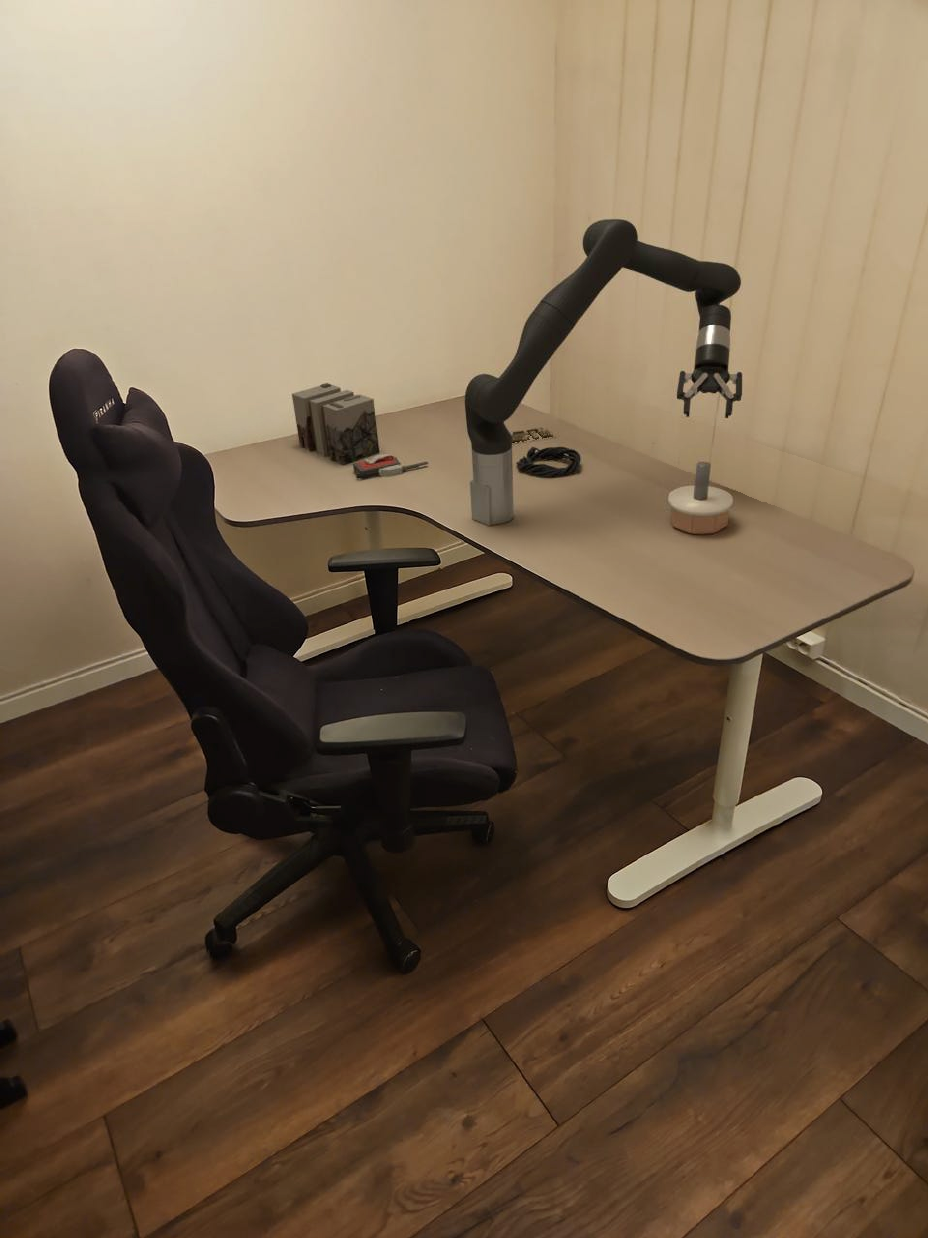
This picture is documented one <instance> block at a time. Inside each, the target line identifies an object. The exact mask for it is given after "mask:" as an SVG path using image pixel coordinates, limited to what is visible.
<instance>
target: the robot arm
mask: <svg viewBox="0 0 928 1238" xmlns="http://www.w3.org/2000/svg"><path fill="white" fill-rule="evenodd" d="M638 234H639V233H638V230H637V228H636V226H635V225H634V224H633V223H632V222H631V221H629V220H626V219H621V218H610V219H609V218H607V219H601V220H597V221H595V222H593V223H592V224H590V225H589V226H588V227H587V228H586V230H585V231H584V234H583V237H582V249H583V252H584V254H585V255H586V258H585V259H584V260H583V262H582V263H581V264H580V266H578V268H576V270H574V271H573V272H571V274H569V275H568V276H567V277H566V278H564V279H563V280H562V281H561V282H559V283H558V284H557V285H556V286H554V287H553V288H552V289H551V290H550V291H548V292H547V294H545V296H543V298H542V299H541V300H540V301H539V303H537V305H536V307H535V308H534V310H532V312H531V313H530V314H529V316H528V317H527V318H526V321H525V323H524V326H523V328H522V331H521V335H520V339H519V344H518V347H517V350H516V353H515V355H514V357H513V359H512V360H511V362H510V363H509V365H508V366H507V367H506V369H505V370H504V371H503V372H502V373H501V374H500V376H499V377H496V376H494V375H493V374H489V373H481V374H478V375H475V376H474V377H473V378H472V379H471V380H470V381H469V383H468V385H467V387H466V389H465V392H464V393H465V394H464V411H465V412H464V413H465V421H466V422H465V423H466V431H467V435H468V438H469V440H470V443H471V444H470V445H471V460H472V461H471V463H472V465H471V466H472V480H470V482H469V487H470V488H469V489H470V491H469V492H470V493H469V494H470V509H471V519H473V520H474V521H477V522H479V523H481V524H483V525H486V526H488V527H489V526H492V525H498V524H504V523H507V522H509V521H511V520H512V519H513V518H514V515H515V514H514V513H515V511H514V510H515V509H514V508H515V507H514V481H513V480H514V476H513V475H514V474H513V473H514V472H513V470H514V469H513V466H514V465H513V444H512V437H511V435H512V434H511V432H510V431H509V430H508V428H507V426H506V424H505V421H507V420H509V418H511V417H512V416H513V414H514V413H515V412H516V410H517V409H518V408H519V406H520V404H521V403H522V401H523V400H524V398H525V396H526V394H527V393H528V391H529V390H530V388H531V387H532V385H533V383H534V382H535V381H536V378H537V377H538V376H539V374H540V373H541V371H542V370H543V369H544V367H545V366H546V365H547V363H548V362H549V361H550V359H551V358H552V356H553V355H554V354H555V352H557V350H558V349H559V347H560V346H561V345H562V344H563V342H564V341H565V340H566V339H567V337H568V336H569V334H571V332H572V331H573V329H574V328H575V327H576V325H577V324H578V322H579V321H580V319H581V318H582V317H583V316H584V314H585V313H586V312H587V310H588V309H589V308H590V307H591V305H592V304H593V303H594V301H595V300H596V298H597V297H598V296H599V294H600V293H601V292H602V290H603V289H605V288H606V286H607V285H608V284H609V283H610V281H612V279H613V278H614V277H615V276H616V275H617V274H618V273H619V272H620V271H621V270H622V269H626V270H629V271H632V272H635V273H639V274H641V275H643V276H646V277H648V278H651V279H653V280H656V281H659V282H661V283H662V284H666V285H668V286H670V287H673V288H675V289H678V290H681V291H684V292H687V293H692V292H694V297H695V303H696V307H697V308H696V309H697V312H698V317H699V321H698V333H697V337H696V338H697V339H696V343H695V353H694V355H695V356H694V368H693V371H692V373H690V372H689V373H688V372H687V373H686V371H685V370H681V371H680V372H679V375H678V376H679V377H678V384H677V390H676V399H677V400H682V401H683V414H684V415H686V416H685V418H686V417H687V418H690V411H691V401H692V399H693V398H694V397H696V396H697V395H698V394H699V393H702V394H708V393H710V394H717V393H719V394H720V396H721V397H722V398H724V400H725V413H724V419H729V416H730V417H731V416H732V414H733V404H734V402H740V401H741V400H742V396H743V373H742V372H741V371H738V372H737V373H733V374H731V373H730V372H729V362H730V351H731V334H730V333H731V323H732V322H731V321H732V314H731V310H730V308H729V307H728V306H726V305H724V304H721V303H722V302H724V301H726V300H727V299H729V298H731V297H732V296H734V295H735V294H737V292H738V291H739V290H740V288H741V285H742V279H741V275H740V273H739V272H738V271H737V270H736V269H735V267H733V266H731V265H729V264H726V263H722V262H715V261H707V260H706V261H704V260H703V261H702V260H697V259H696V258H693V257H691V256H688V255H686V254H683V253H680V252H678V251H675V250H671V249H668V248H663V247H660V246H656V245H652V244H648V243H645V242H644V241H643V242H642V241H640V240H639V236H638ZM690 380H691V381H692V383H693V384H692V385H691V387H690V388H689V389H688V390H687V391H686V392H684V388H685V387H684V386H685V384H687V383H689V381H690ZM729 381H731V382H732V384H733V385H735V393H733V392H732V391H731V390H730V388H729V385H727V384H728V382H729Z"/></svg>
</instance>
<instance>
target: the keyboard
mask: <svg viewBox="0 0 928 1238" xmlns="http://www.w3.org/2000/svg"><path fill="white" fill-rule="evenodd" d="M540 429H543V430H540ZM545 430H546V431H544V428H543V427H540V428H539V430H538V428H537V427H536V428H530V429H528V428H527V429H526V432H525V431H524V430H516V431H512V434H511V437H512V443H515V442H517V443H516V444H520V443H519V442H520V441H522V442H523V443H525V442H524V441H527V440H530V439H529V437H530V436H532V438H533V439H535V440H537V439H539V436H538V435H537V434H536V433H538V434H539V435H540V436H541V437H542V439H543V438H547V437H548V438H549V437H553V434H554V433H553V432H552V431H551V430H550V429H549V428H546V429H545ZM550 431H551V432H552V433H551V432H550ZM528 435H530V436H528ZM537 441H538V440H537Z"/></svg>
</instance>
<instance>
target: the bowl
mask: <svg viewBox="0 0 928 1238" xmlns="http://www.w3.org/2000/svg"><path fill="white" fill-rule="evenodd" d="M729 513H730V510H728V511H727V512H725V513H722V514H719V515H714V516H693V515H687V514H683V513H680V512H678V511H676V510H674V509H672V508H671V507H670V515H669V518H670V521H671V525H672V527H673V528H676V529H678V530H680V531H682V532H685V533H689V534H692V535H693V534H694V535H707V534H714V533H717V532H718V531H721V530H722V529H724V528H726V527H727V526H728V524H729Z"/></svg>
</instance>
